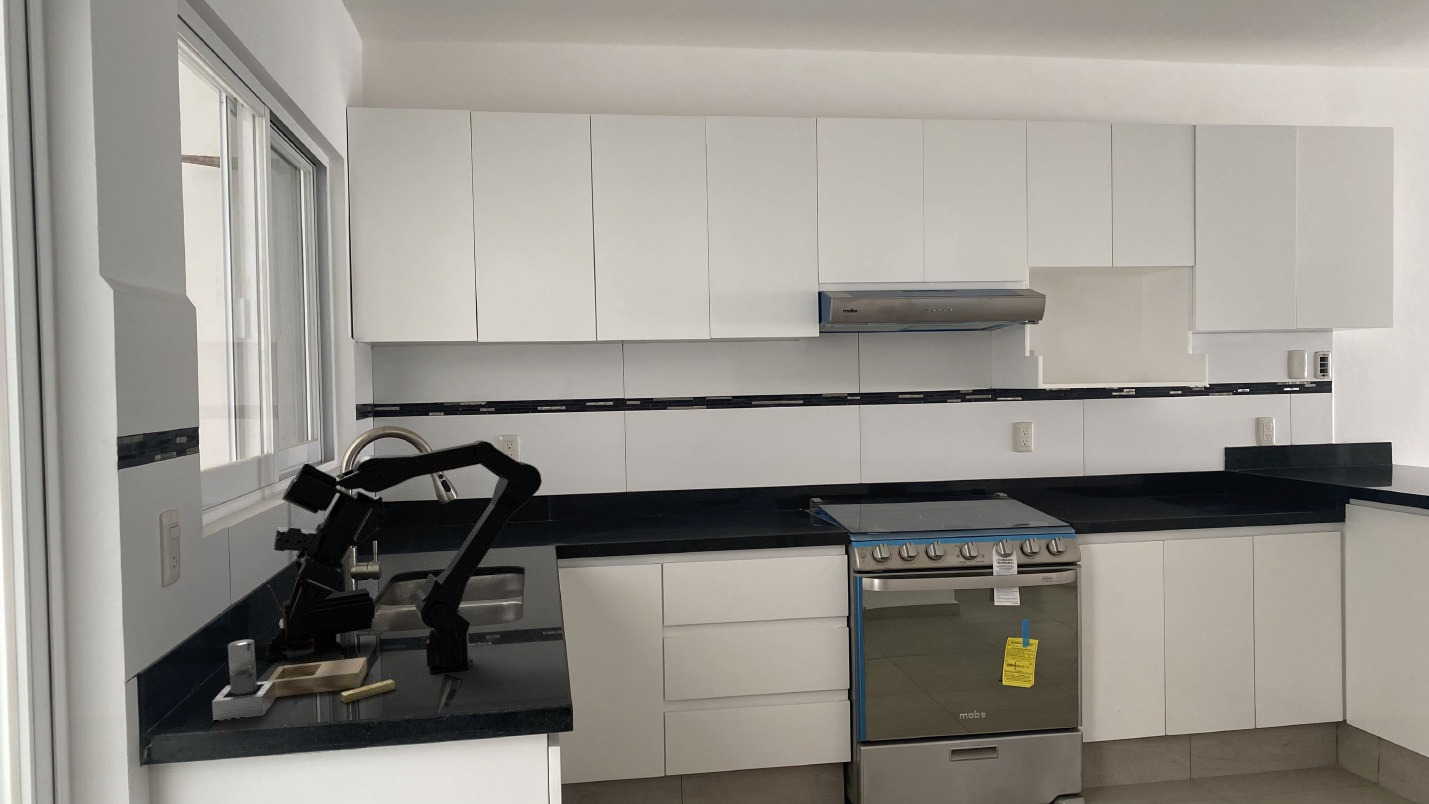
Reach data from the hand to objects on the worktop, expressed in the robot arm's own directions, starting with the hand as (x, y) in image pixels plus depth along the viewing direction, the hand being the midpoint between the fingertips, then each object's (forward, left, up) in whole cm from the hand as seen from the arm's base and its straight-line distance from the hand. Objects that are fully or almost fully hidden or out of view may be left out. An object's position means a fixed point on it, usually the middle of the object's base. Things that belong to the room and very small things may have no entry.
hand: (292, 613), depth 145 cm
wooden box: (-3, -4, -13) cm, 14 cm away
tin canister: (+6, +5, -13) cm, 15 cm away
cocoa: (+6, -30, -14) cm, 33 cm away
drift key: (-12, +4, -13) cm, 18 cm away
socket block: (+6, +5, -13) cm, 15 cm away
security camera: (+1, -24, -14) cm, 27 cm away
